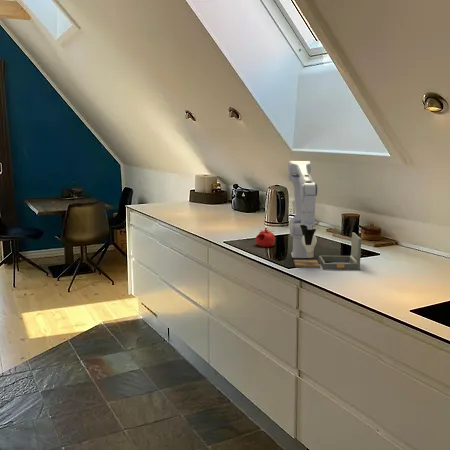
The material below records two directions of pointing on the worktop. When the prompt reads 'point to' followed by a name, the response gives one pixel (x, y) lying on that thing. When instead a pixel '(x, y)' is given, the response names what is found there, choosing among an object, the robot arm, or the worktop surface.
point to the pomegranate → (265, 238)
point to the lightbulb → (309, 246)
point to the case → (344, 257)
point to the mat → (306, 264)
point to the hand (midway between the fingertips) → (307, 243)
